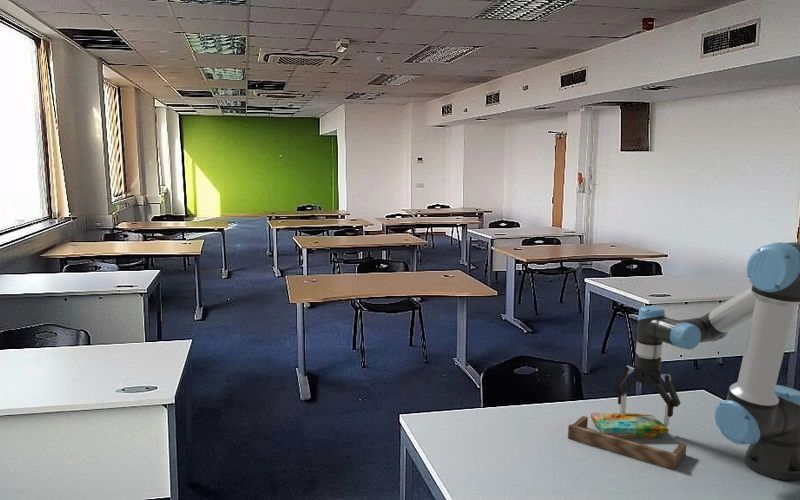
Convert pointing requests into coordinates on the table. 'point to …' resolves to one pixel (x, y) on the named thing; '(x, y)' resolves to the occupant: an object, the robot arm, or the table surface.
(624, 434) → the puzzle game
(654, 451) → the frame
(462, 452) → the table surface
